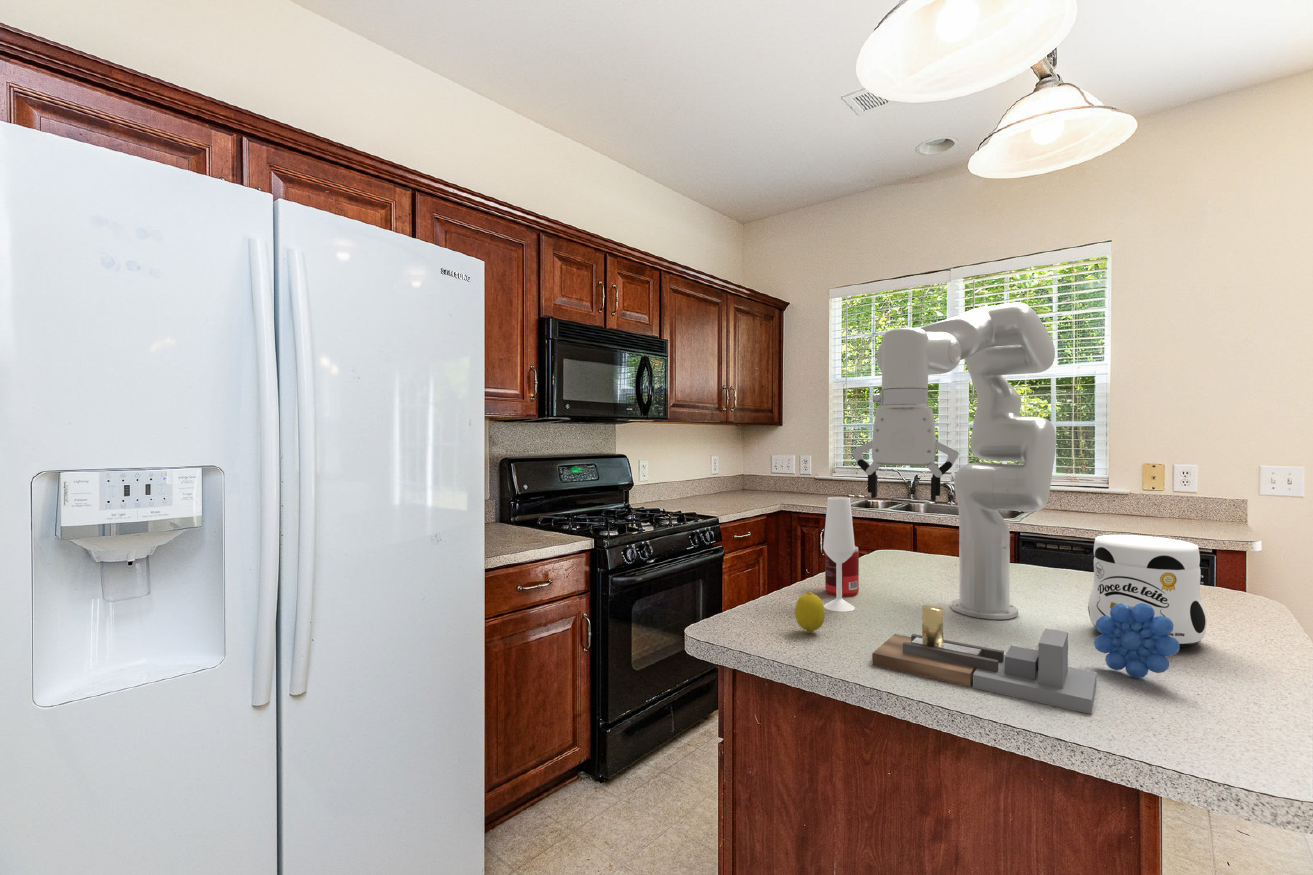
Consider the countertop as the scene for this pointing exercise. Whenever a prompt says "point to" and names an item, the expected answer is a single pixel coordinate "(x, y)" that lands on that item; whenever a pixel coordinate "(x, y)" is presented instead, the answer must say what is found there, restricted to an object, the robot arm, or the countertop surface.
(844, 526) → the champagne flute
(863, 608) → the countertop surface
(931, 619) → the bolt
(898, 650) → the wooden block with rails
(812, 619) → the lemon
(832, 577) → the canned food
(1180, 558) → the doce de leite tub
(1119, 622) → the blue flower
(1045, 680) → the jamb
